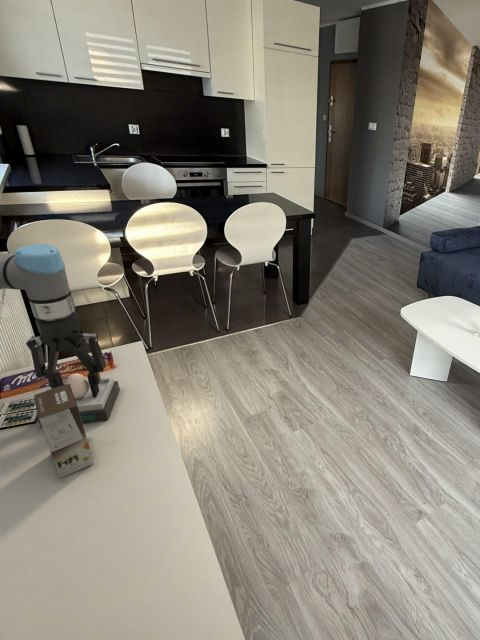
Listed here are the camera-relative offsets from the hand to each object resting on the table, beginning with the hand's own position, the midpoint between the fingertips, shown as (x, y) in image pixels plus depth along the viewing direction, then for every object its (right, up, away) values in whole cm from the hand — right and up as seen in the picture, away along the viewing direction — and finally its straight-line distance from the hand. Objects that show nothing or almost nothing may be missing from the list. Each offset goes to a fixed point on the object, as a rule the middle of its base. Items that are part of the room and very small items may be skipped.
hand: (79, 395), depth 98 cm
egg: (0, 0, 0) cm, 1 cm away
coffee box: (+7, -11, -12) cm, 18 cm away
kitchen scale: (0, -4, +2) cm, 4 cm away
